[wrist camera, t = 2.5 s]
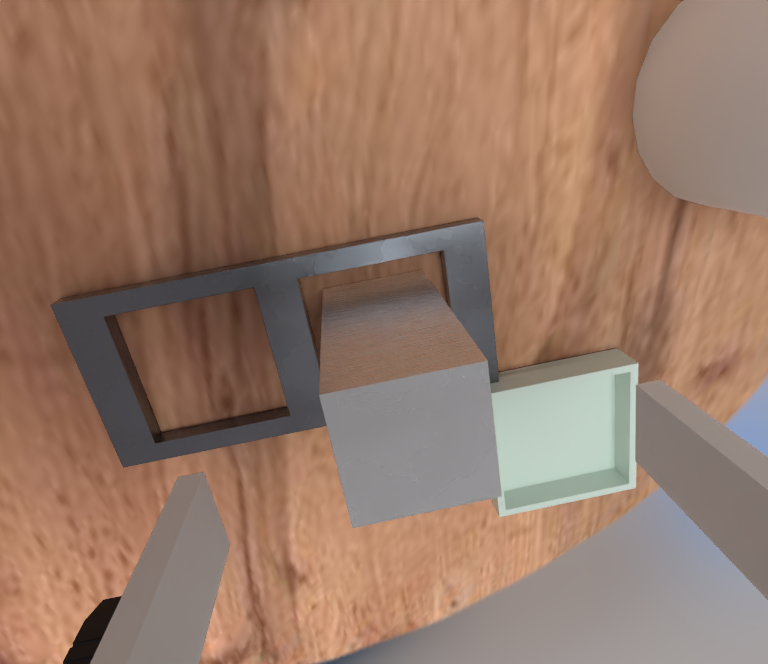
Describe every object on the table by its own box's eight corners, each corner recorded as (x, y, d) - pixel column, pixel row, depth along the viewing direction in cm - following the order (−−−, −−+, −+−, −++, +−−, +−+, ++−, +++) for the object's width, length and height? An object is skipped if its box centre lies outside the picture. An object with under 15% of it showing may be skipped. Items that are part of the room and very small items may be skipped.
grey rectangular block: (343, 378, 27) (352, 528, 16) (322, 288, 25) (319, 395, 14) (435, 359, 27) (502, 496, 17) (422, 269, 25) (487, 360, 15)
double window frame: (130, 456, 27) (123, 467, 26) (61, 298, 24) (50, 304, 23) (494, 381, 28) (499, 389, 27) (477, 217, 24) (483, 220, 23)
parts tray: (489, 493, 30) (499, 517, 28) (475, 377, 27) (486, 394, 25) (617, 466, 31) (635, 487, 29) (617, 348, 28) (638, 363, 26)
